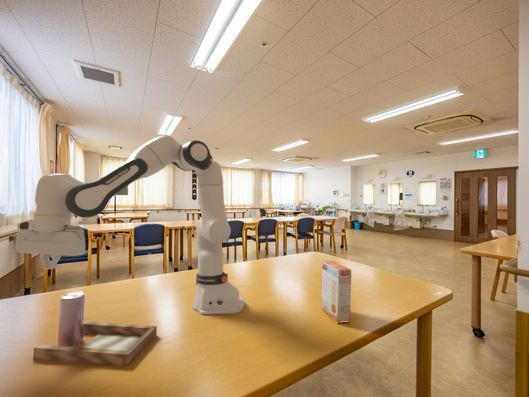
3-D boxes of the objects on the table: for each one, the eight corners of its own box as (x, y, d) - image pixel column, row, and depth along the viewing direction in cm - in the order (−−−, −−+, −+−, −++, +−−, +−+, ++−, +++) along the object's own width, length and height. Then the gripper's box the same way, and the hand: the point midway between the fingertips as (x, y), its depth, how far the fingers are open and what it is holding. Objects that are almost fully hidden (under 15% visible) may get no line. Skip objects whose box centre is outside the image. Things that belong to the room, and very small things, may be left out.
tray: (156, 335, 79) (156, 326, 79) (127, 365, 64) (128, 354, 64) (78, 330, 81) (79, 321, 81) (33, 358, 66) (33, 347, 66)
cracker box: (351, 323, 91) (352, 269, 92) (336, 324, 90) (338, 269, 90) (333, 307, 105) (334, 260, 105) (320, 308, 104) (322, 260, 104)
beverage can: (67, 338, 76) (69, 291, 76) (87, 338, 76) (89, 291, 76) (52, 349, 70) (55, 298, 70) (73, 349, 70) (76, 298, 70)
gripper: (91, 225, 77) (89, 267, 76) (33, 222, 78) (30, 264, 78) (75, 226, 70) (72, 273, 70) (12, 223, 72) (8, 269, 71)
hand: (49, 268), depth 74 cm, fingers closed
